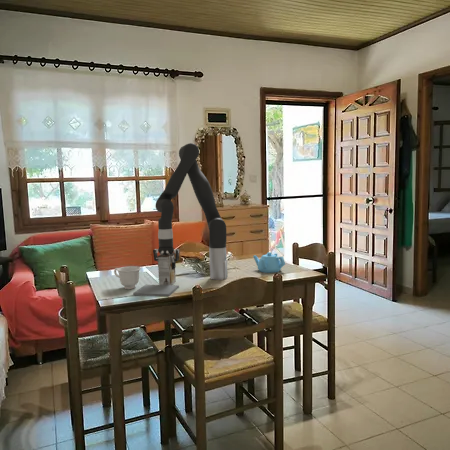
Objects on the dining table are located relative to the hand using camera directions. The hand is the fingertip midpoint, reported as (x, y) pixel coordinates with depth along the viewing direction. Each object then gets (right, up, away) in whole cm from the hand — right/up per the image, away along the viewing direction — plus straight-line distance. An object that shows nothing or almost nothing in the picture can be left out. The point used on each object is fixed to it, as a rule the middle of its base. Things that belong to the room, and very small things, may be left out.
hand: (166, 268), depth 224 cm
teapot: (+56, -4, +27) cm, 63 cm away
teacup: (-20, -9, -4) cm, 22 cm away
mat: (-3, -10, -12) cm, 16 cm away
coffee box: (0, -8, +1) cm, 8 cm away
